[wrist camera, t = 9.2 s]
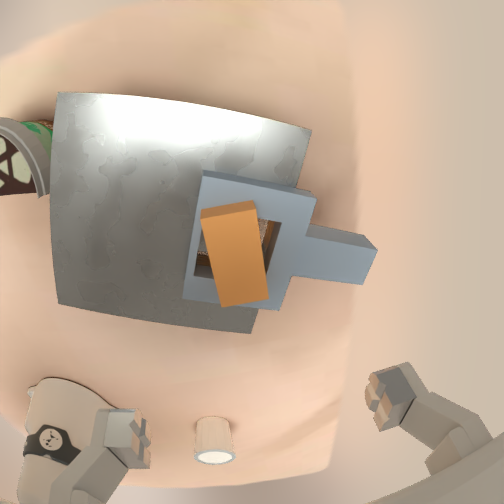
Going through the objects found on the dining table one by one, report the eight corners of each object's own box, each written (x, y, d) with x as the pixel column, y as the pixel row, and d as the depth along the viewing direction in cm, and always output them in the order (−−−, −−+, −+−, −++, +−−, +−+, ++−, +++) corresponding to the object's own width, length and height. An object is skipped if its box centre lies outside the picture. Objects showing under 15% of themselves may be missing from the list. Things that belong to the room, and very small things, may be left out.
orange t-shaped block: (252, 239, 27) (269, 298, 19) (218, 245, 27) (221, 307, 19) (241, 171, 24) (256, 208, 16) (204, 178, 24) (200, 219, 16)
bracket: (338, 294, 26) (351, 317, 23) (185, 274, 23) (182, 298, 20) (375, 203, 22) (395, 218, 19) (204, 164, 19) (202, 175, 17)
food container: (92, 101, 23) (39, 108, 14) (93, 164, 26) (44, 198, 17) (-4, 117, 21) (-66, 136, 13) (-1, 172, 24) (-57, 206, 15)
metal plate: (239, 269, 33) (250, 333, 25) (93, 246, 30) (58, 303, 21) (279, 118, 26) (311, 130, 18) (107, 91, 23) (57, 92, 14)
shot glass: (194, 413, 46) (195, 448, 39) (235, 415, 47) (239, 450, 41) (191, 431, 49) (192, 464, 42) (229, 433, 50) (232, 465, 44)
